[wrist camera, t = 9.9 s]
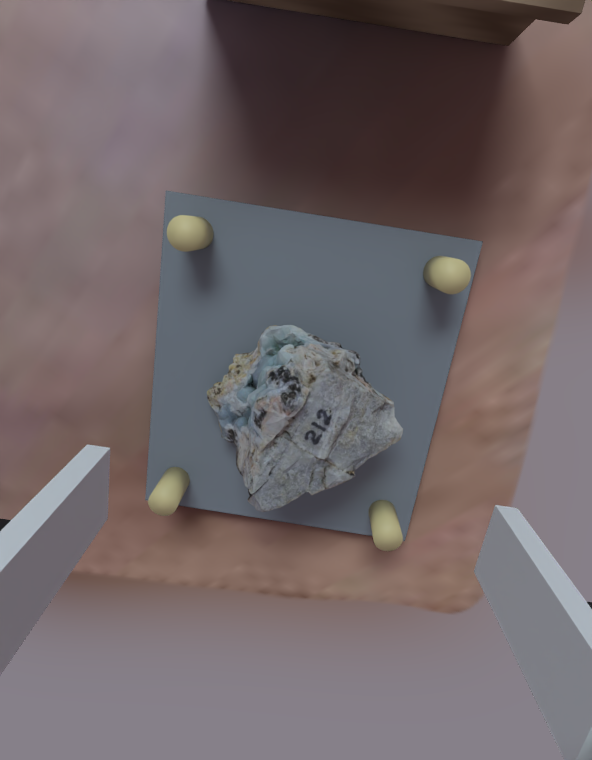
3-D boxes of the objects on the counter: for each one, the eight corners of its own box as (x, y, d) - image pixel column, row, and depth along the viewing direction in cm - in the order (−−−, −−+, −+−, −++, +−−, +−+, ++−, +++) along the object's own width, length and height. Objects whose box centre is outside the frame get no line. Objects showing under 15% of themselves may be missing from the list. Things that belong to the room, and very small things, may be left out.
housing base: (151, 491, 34) (129, 525, 30) (172, 192, 28) (147, 186, 24) (401, 530, 34) (412, 570, 30) (476, 241, 28) (502, 242, 24)
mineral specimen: (284, 334, 34) (301, 474, 34) (179, 339, 29) (199, 503, 29) (390, 308, 27) (411, 488, 27) (271, 310, 22) (298, 531, 22)
